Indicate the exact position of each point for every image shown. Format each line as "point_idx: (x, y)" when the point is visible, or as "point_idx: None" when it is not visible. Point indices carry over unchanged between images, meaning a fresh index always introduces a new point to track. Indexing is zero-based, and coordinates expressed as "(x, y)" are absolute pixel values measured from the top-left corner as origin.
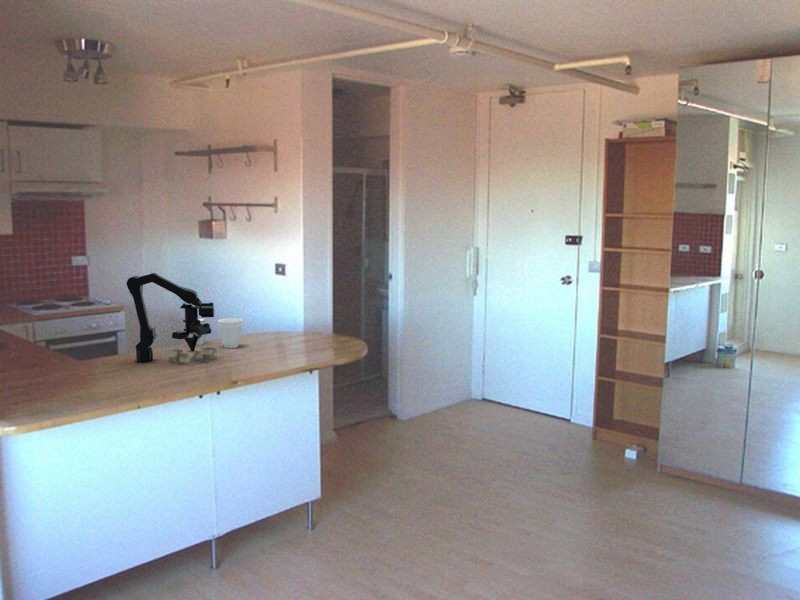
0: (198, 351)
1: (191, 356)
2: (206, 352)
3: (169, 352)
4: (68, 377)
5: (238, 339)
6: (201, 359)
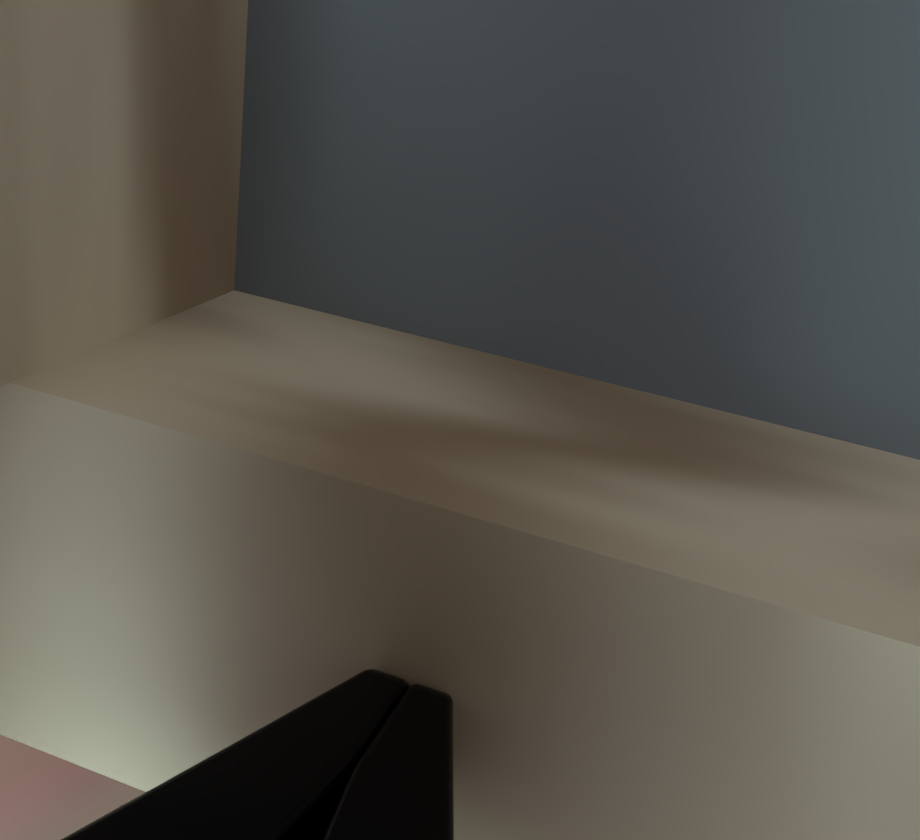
0: (294, 453)
1: (777, 503)
2: (71, 140)
3: None
4: None
5: None
6: (393, 246)
